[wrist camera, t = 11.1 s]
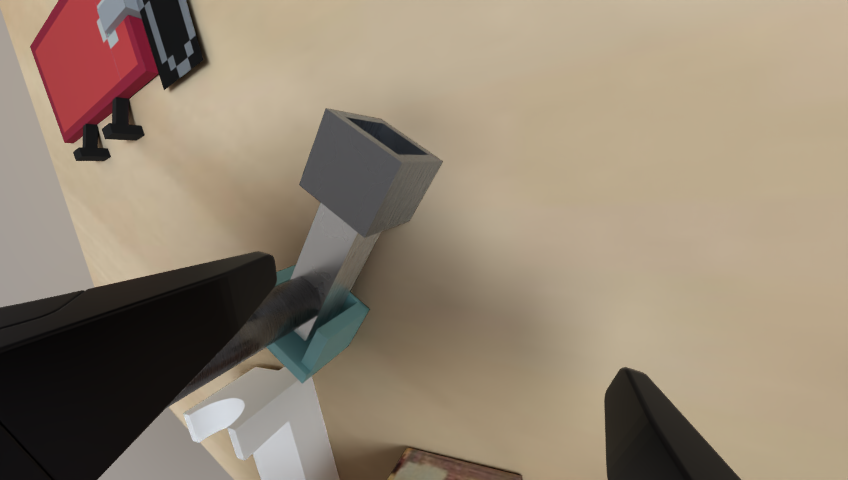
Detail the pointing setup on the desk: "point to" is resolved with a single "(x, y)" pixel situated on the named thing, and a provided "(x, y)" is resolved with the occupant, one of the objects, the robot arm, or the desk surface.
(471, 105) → the desk surface
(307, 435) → the bracket
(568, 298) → the desk surface
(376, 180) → the outer sleeve
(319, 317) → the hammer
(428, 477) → the book
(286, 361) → the socket block
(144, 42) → the red board with handle
